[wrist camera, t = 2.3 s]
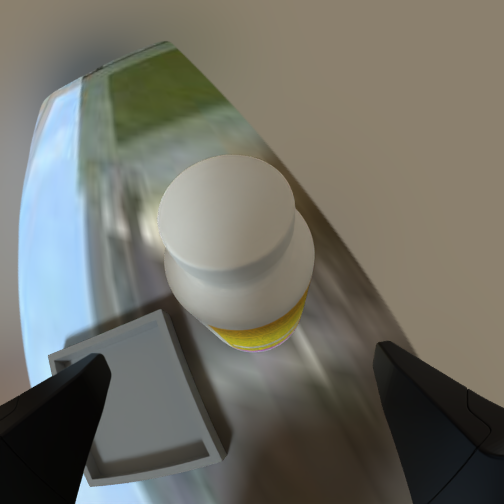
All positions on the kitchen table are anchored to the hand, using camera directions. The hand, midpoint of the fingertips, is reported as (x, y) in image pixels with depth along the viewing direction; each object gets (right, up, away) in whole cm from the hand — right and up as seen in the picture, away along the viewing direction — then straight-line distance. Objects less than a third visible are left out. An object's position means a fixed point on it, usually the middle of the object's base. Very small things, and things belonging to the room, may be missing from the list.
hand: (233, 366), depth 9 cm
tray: (-8, -8, +10) cm, 15 cm away
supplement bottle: (+1, -1, +13) cm, 13 cm away
